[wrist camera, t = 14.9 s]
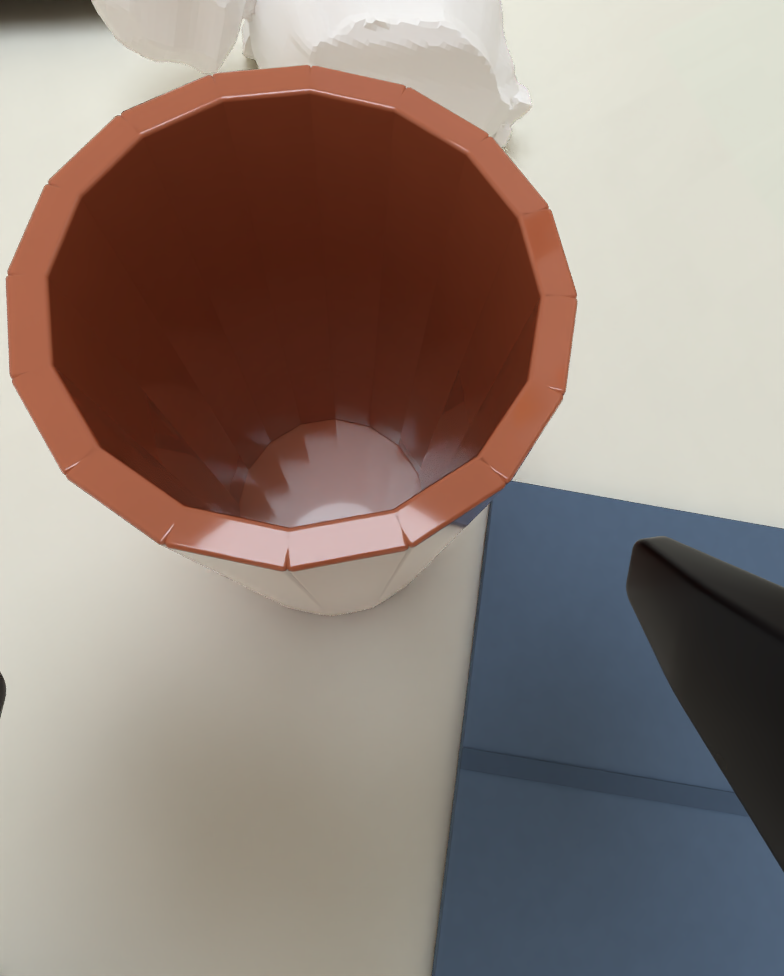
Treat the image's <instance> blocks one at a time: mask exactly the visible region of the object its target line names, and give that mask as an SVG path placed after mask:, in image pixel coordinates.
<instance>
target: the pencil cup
mask: <svg viewBox="0 0 784 976" xmlns="http://www.w3.org/2000/svg"><path fill="white" fill-rule="evenodd" d="M6 297H7V321H8V345H9V370H10V376H11V378H12V383H13V386H14V387H15V389H16V391H17V393H18V395H19V396H20V398H21V400H22V402H23V404H24V405H25V407H26V409H27V411H28V412H29V414H30V416H31V418H32V420H33V421H34V423H35V425H36V427H37V429H38V430H39V432H40V434H41V436H42V438H43V439H44V441H45V443H46V445H47V446H48V448H49V450H50V452H51V454H52V455H53V457H54V459H55V461H56V463H57V464H58V466H59V468H60V470H61V472H62V473H63V474H65V475H66V477H67V479H68V480H69V481H70V482H72V483H73V484H75V485H76V486H77V487H79V488H80V489H82V490H83V491H85V492H86V493H87V494H89V495H90V496H92V497H93V498H94V499H96V500H97V501H99V502H100V503H101V504H103V505H104V506H106V507H107V508H109V509H110V510H111V511H113V512H114V513H116V514H117V515H118V516H120V517H121V518H123V519H124V520H125V521H127V522H128V523H130V524H131V525H133V526H134V527H135V528H137V529H138V530H140V531H141V532H142V533H144V534H145V535H147V536H148V537H149V538H151V539H152V540H154V541H155V542H157V543H158V544H159V545H161V546H163V547H166V548H168V549H170V550H172V551H174V552H176V553H178V554H180V555H182V556H184V557H186V558H188V559H190V560H192V561H194V562H196V563H198V564H200V565H202V566H204V567H206V568H208V569H210V570H212V571H214V572H216V573H218V574H220V575H222V576H224V577H226V578H228V579H230V580H232V581H234V582H236V583H238V584H240V585H242V586H244V587H246V588H248V589H250V590H252V591H254V592H256V593H258V594H261V595H263V596H265V597H267V598H269V599H271V600H273V601H275V602H277V603H279V604H281V605H283V606H285V607H287V608H291V609H296V610H300V611H304V612H308V613H313V614H320V615H324V616H336V615H342V614H350V613H355V612H358V611H362V610H367V609H372V608H373V607H376V606H377V605H379V604H380V603H382V602H383V601H385V600H387V599H388V598H390V597H392V596H393V595H394V594H395V593H397V592H398V591H400V590H401V589H403V588H404V587H406V586H407V585H409V584H410V583H411V582H412V581H413V580H414V579H415V578H416V576H417V575H418V574H419V573H420V572H421V571H422V570H423V569H424V568H425V567H426V566H427V565H428V564H429V563H430V562H431V561H432V560H433V559H434V558H435V557H436V556H437V555H438V554H439V553H440V552H441V551H442V550H443V549H444V548H445V547H446V546H447V545H448V544H449V543H450V542H451V541H452V540H453V539H454V538H455V537H456V536H457V535H458V534H459V533H460V532H461V531H462V530H463V529H464V528H465V527H466V526H467V525H468V524H469V523H470V522H471V521H472V520H473V519H474V518H475V517H476V516H477V515H478V514H479V513H480V512H481V511H482V510H483V509H484V508H485V507H486V506H487V505H488V504H489V503H490V502H491V501H492V500H493V499H494V498H495V497H496V496H497V495H498V494H499V493H500V492H501V491H502V490H503V489H504V488H505V487H506V486H507V485H508V484H509V483H510V482H511V480H512V479H513V477H514V476H515V474H516V472H517V471H518V469H519V468H520V466H521V465H522V463H523V462H524V460H525V458H526V457H527V455H528V454H529V452H530V451H531V449H532V447H533V446H534V444H535V443H536V441H537V440H538V438H539V437H540V435H541V433H542V432H543V430H544V429H545V427H546V426H547V424H548V422H549V421H550V419H551V418H552V416H553V415H554V413H555V412H556V410H557V408H558V407H559V405H560V404H561V402H562V401H563V395H564V394H565V392H566V386H567V379H568V371H569V363H570V356H571V348H572V341H573V333H574V326H575V318H576V310H577V299H576V297H577V293H576V290H575V286H574V283H573V280H572V276H571V273H570V270H569V267H568V263H567V260H566V257H565V254H564V250H563V247H562V244H561V241H560V237H559V234H558V231H557V227H556V224H555V221H554V218H553V214H552V211H551V210H550V209H549V206H548V204H547V203H546V201H545V200H544V199H543V198H542V197H541V195H540V194H539V193H538V192H537V191H536V189H535V188H534V187H533V186H532V184H531V183H530V182H529V181H528V180H527V178H526V177H525V176H524V175H523V173H522V172H521V171H520V170H519V169H518V167H517V166H516V165H515V164H514V163H513V161H512V160H511V159H510V158H509V156H508V155H507V154H506V153H505V152H504V150H503V149H502V148H501V147H500V146H499V144H498V143H497V142H496V141H495V139H494V138H493V137H491V136H489V134H488V133H487V132H486V131H484V130H482V129H481V128H479V127H477V126H475V125H474V124H472V123H470V122H469V121H467V120H465V119H464V118H462V117H460V116H459V115H457V114H455V113H453V112H452V111H450V110H448V109H447V108H445V107H443V106H442V105H440V104H438V103H437V102H435V101H433V100H431V99H430V98H428V97H426V96H425V95H423V94H421V93H420V92H418V91H416V90H415V89H413V88H411V87H407V88H406V86H405V85H403V84H399V83H394V82H390V81H385V80H381V79H376V78H371V77H367V76H362V75H358V74H353V73H349V72H344V71H340V70H335V69H330V68H326V67H321V66H317V65H313V66H312V67H310V65H297V66H286V67H275V68H264V69H253V70H242V71H231V72H220V73H214V74H213V77H212V76H211V75H206V76H204V77H202V78H199V79H197V80H195V81H192V82H190V83H188V84H185V85H183V86H181V87H178V88H176V89H174V90H172V91H169V92H167V93H165V94H162V95H160V96H158V97H155V98H153V99H151V100H148V101H146V102H144V103H141V104H139V105H137V106H135V107H132V108H130V109H128V110H125V111H123V112H122V113H121V116H120V115H118V116H115V117H114V118H113V119H112V120H111V121H110V122H109V123H108V124H107V125H106V126H105V127H104V128H103V129H102V130H101V131H100V132H99V133H97V134H96V135H95V136H94V137H93V138H92V139H91V140H90V141H89V142H88V143H87V144H86V145H85V146H84V147H83V148H82V149H81V150H80V151H78V152H77V153H76V154H75V155H74V156H73V157H72V158H71V159H70V160H69V161H68V162H67V163H66V164H65V165H64V166H63V167H62V168H61V169H59V170H58V171H57V172H56V173H55V174H54V175H53V176H52V177H51V178H50V179H49V181H48V184H46V185H45V186H44V188H43V190H42V193H41V195H40V197H39V199H38V202H37V204H36V206H35V209H34V211H33V213H32V216H31V218H30V220H29V222H28V225H27V227H26V229H25V232H24V234H23V236H22V239H21V241H20V243H19V245H18V248H17V250H16V252H15V255H14V257H13V259H12V262H11V264H10V266H9V268H8V276H7V277H6Z"/></svg>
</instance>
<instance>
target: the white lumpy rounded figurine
mask: <svg viewBox="0 0 784 976" xmlns="http://www.w3.org/2000/svg"><path fill="white" fill-rule="evenodd" d="M91 1H92V3H93V5H94V7H95V9H96V11H97V13H98V14H99V16H100V17H101V18H102V20H103V21H104V23H105V24H106V26H107V27H108V28H109V30H110V31H111V33H112V34H113V35H114V37H115V38H116V39H117V40H118V41H119V42H120V43H122V44H123V45H124V46H125V47H126V48H128V49H130V50H132V51H134V52H136V53H138V54H140V55H141V56H143V57H145V58H147V59H150V60H153V61H156V62H174V63H181V64H185V65H188V66H190V67H192V68H194V69H196V70H197V71H199V72H201V73H203V74H204V73H217V72H218V70H219V69H220V67H221V66H222V64H223V63H224V61H225V59H226V57H227V56H228V54H229V53H230V51H231V50H232V48H233V46H234V45H235V43H236V40H237V37H238V33H239V30H240V26H241V22H242V19H245V21H244V24H243V26H242V40H243V52H242V54H243V55H244V56H245V57H248V58H251V59H255V60H256V63H257V65H258V67H259V69H264V68H275V67H286V66H297V65H310V67H312V66H313V65H317V66H321V67H326V68H330V69H335V70H340V71H344V72H349V73H353V74H358V75H362V76H367V77H371V78H376V79H381V80H385V81H390V82H394V83H399V84H403V85H405V86H406V88H407V87H411V88H413V89H415V90H416V91H418V92H420V93H421V94H423V95H425V96H426V97H428V98H430V99H431V100H433V101H435V102H437V103H438V104H440V105H442V106H443V107H445V108H447V109H448V110H450V111H452V112H453V113H455V114H457V115H459V116H460V117H462V118H464V119H465V120H467V121H469V122H470V123H472V124H474V125H475V126H477V127H479V128H481V129H482V130H484V131H486V132H487V133H488V134H489V136H491V137H493V138H494V139H495V141H496V142H497V143H498V144H499V146H500V147H501V148H502V147H505V146H506V145H507V142H508V140H509V138H510V137H511V135H512V128H511V126H512V125H513V124H514V123H515V122H516V121H517V120H518V119H520V118H522V117H523V116H524V115H525V114H526V113H527V112H528V111H529V110H530V109H531V108H532V101H531V97H530V94H529V91H528V88H527V87H525V86H524V85H522V84H520V83H519V82H518V80H517V78H516V75H515V66H514V62H513V59H512V56H511V55H510V51H509V49H508V47H507V43H506V38H505V34H504V30H503V14H502V2H501V0H91Z"/></svg>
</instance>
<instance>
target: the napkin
mask: <svg viewBox="0 0 784 976" xmlns="http://www.w3.org/2000/svg"><path fill="white" fill-rule="evenodd" d="M657 536H666V537H669V538H671V539H673V540H676V541H678V542H680V543H683V544H685V545H687V546H690V547H692V548H694V549H697V550H699V551H701V552H704V553H706V554H708V555H710V556H713V557H715V558H717V559H720V560H722V561H724V562H727V563H729V564H731V565H734V566H736V567H738V568H741V569H743V570H745V571H748V572H750V573H752V574H755V575H757V576H759V577H761V578H764V579H766V580H768V581H771V582H773V583H775V584H778V585H780V586H782V587H784V529H782V528H776V527H770V526H765V525H759V524H753V523H748V522H742V521H736V520H731V519H725V518H719V517H714V516H708V515H702V514H697V513H691V512H685V511H680V510H674V509H668V508H663V507H657V506H651V505H646V504H640V503H634V502H629V501H623V500H617V499H612V498H606V497H600V496H595V495H589V494H583V493H578V492H572V491H566V490H561V489H555V488H549V487H544V486H538V485H532V484H527V483H521V482H515V481H511V482H510V483H509V484H508V485H507V486H506V487H505V488H504V489H503V490H502V491H501V492H500V493H499V494H498V495H497V496H496V497H495V498H494V499H493V500H492V501H491V502H490V507H489V515H488V523H487V531H486V539H485V547H484V555H483V564H482V572H481V580H480V588H479V596H478V604H477V612H476V620H475V629H474V637H473V645H472V653H471V661H470V669H469V677H468V685H467V694H466V702H465V710H464V718H463V726H462V734H461V742H460V750H459V759H458V767H457V775H456V783H455V791H454V799H453V807H452V815H451V824H450V832H449V840H448V848H447V856H446V864H445V872H444V880H443V889H442V897H441V905H440V913H439V921H438V929H437V937H436V945H435V954H434V962H433V970H432V976H784V872H783V871H782V869H781V867H780V866H779V864H778V862H777V861H776V859H775V858H774V856H773V854H772V853H771V851H770V849H769V848H768V846H767V845H766V843H765V841H764V840H763V838H762V836H761V835H760V833H759V831H758V830H757V828H756V827H755V825H754V823H753V822H752V820H751V818H750V817H749V815H748V814H747V812H746V810H745V809H744V807H743V805H742V804H741V802H740V801H739V799H738V797H737V796H736V794H735V792H734V791H733V789H732V787H731V786H730V784H729V783H728V781H727V779H726V778H725V776H724V774H723V773H722V771H721V770H720V768H719V766H718V765H717V763H716V761H715V760H714V758H713V756H712V755H711V753H710V752H709V750H708V748H707V747H706V745H705V743H704V742H703V740H702V739H701V737H700V735H699V734H698V732H697V730H696V729H695V727H694V725H693V724H692V722H691V721H690V719H689V717H688V716H687V714H686V712H685V711H684V709H683V708H682V706H681V704H680V702H679V701H678V699H677V697H676V696H675V694H674V692H673V690H672V688H671V686H670V685H669V683H668V681H667V679H666V677H665V675H664V673H663V671H662V668H661V666H660V664H659V662H658V660H657V658H656V656H655V654H654V652H653V650H652V648H651V645H650V643H649V641H648V639H647V637H646V635H645V633H644V631H643V629H642V627H641V624H640V622H639V620H638V618H637V616H636V614H635V612H634V610H633V608H632V606H631V603H630V601H629V599H628V596H627V591H626V581H627V575H628V570H629V565H630V559H631V554H632V549H633V545H634V544H635V542H636V541H638V540H639V539H644V538H651V537H657Z"/></svg>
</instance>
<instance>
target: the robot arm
mask: <svg viewBox="0 0 784 976" xmlns="http://www.w3.org/2000/svg"><path fill="white" fill-rule="evenodd" d="M626 591H627V596H628V599H629V601H630V603H631V606H632V608H633V610H634V612H635V614H636V616H637V618H638V620H639V622H640V624H641V627H642V629H643V631H644V633H645V635H646V637H647V639H648V641H649V643H650V645H651V648H652V650H653V652H654V654H655V656H656V658H657V660H658V662H659V664H660V666H661V668H662V671H663V673H664V675H665V677H666V679H667V681H668V683H669V685H670V686H671V688H672V690H673V692H674V694H675V696H676V697H677V699H678V701H679V702H680V704H681V706H682V708H683V709H684V711H685V712H686V714H687V716H688V717H689V719H690V721H691V722H692V724H693V725H694V727H695V729H696V730H697V732H698V734H699V735H700V737H701V739H702V740H703V742H704V743H705V745H706V747H707V748H708V750H709V752H710V753H711V755H712V756H713V758H714V760H715V761H716V763H717V765H718V766H719V768H720V770H721V771H722V773H723V774H724V776H725V778H726V779H727V781H728V783H729V784H730V786H731V787H732V789H733V791H734V792H735V794H736V796H737V797H738V799H739V801H740V802H741V804H742V805H743V807H744V809H745V810H746V812H747V814H748V815H749V817H750V818H751V820H752V822H753V823H754V825H755V827H756V828H757V830H758V831H759V833H760V835H761V836H762V838H763V840H764V841H765V843H766V845H767V846H768V848H769V849H770V851H771V853H772V854H773V856H774V858H775V859H776V861H777V862H778V864H779V866H780V867H781V869H782V871H783V872H784V587H782V586H780V585H778V584H775V583H773V582H771V581H768V580H766V579H764V578H761V577H759V576H757V575H755V574H752V573H750V572H748V571H745V570H743V569H741V568H738V567H736V566H734V565H731V564H729V563H727V562H724V561H722V560H720V559H717V558H715V557H713V556H710V555H708V554H706V553H704V552H701V551H699V550H697V549H694V548H692V547H690V546H687V545H685V544H683V543H680V542H678V541H676V540H673V539H671V538H669V537H666V536H657V537H651V538H644V539H639V540H638V541H636V542H635V544H634V545H633V549H632V554H631V559H630V565H629V570H628V575H627V581H626ZM5 697H6V685H5V681H4V678H3V676H2V674H1V673H0V717H1V713H2V709H3V705H4V701H5Z"/></svg>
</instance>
